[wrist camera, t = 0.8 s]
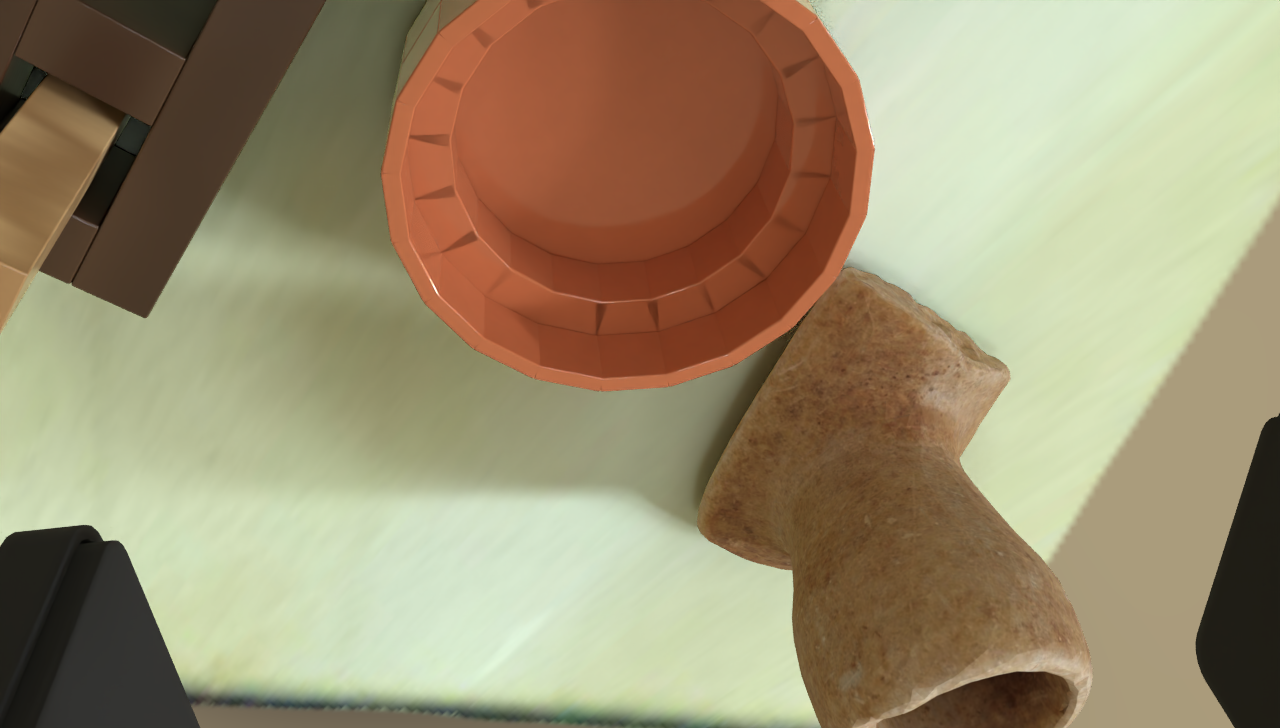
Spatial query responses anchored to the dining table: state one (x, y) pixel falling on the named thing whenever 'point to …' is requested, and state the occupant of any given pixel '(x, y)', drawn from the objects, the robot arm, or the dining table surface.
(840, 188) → the bowl
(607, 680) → the dining table surface
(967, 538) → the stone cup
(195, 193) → the utensil stand
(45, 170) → the light brown wooden bar
